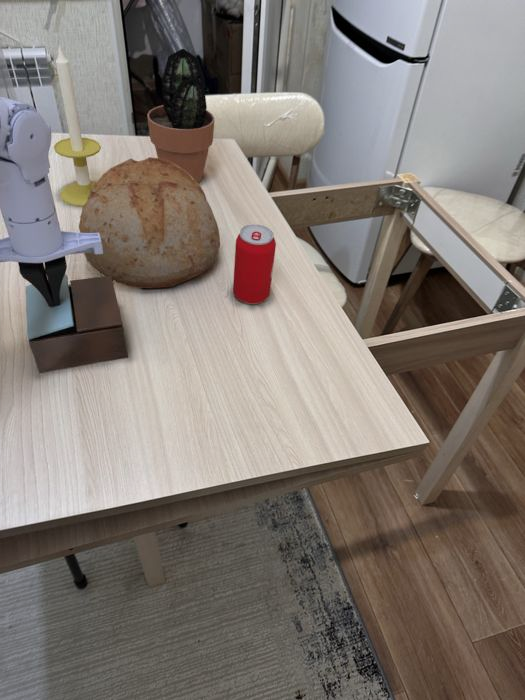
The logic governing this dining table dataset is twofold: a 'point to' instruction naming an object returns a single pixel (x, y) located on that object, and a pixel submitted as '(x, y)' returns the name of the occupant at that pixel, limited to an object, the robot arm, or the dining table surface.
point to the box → (85, 329)
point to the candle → (74, 140)
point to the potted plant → (182, 116)
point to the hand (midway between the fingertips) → (54, 301)
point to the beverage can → (253, 264)
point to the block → (65, 331)
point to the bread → (150, 224)
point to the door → (47, 312)
